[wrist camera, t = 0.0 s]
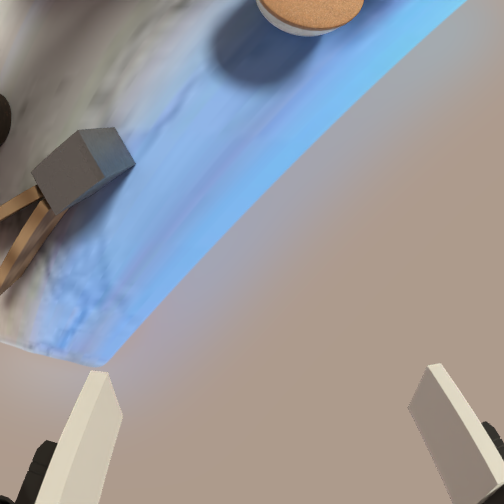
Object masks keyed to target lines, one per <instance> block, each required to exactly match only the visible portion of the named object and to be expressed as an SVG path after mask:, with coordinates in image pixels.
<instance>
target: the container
mask: <svg viewBox="0 0 504 504" xmlns="http://www.w3.org/2000/svg"><path fill="white" fill-rule="evenodd" d="M10 123H11V111H10V106H9V104H8V102H7V100H6V98H5V97H4V96H3V95H1V94H0V145H1V144H2V143H3V142H4V140H5V139H6V137H7V135H8V132H9V129H10Z"/></svg>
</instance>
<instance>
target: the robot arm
mask: <svg viewBox="0 0 504 504" xmlns="http://www.w3.org/2000/svg"><path fill="white" fill-rule="evenodd" d="M408 409H409V411H410V413H411V415H412V417H413V419H414V421H415V423H416V425H417V427H418V429H419V431H420V433H421V435H422V437H423V439H424V442H425V444H426V446H427V448H428V450H429V452H430V454H431V456H432V458H433V460H434V463H435V465H436V467H437V469H438V471H439V474H440V476H441V478H442V480H443V482H444V485H445V487H446V489H447V492H448V494H449V496H450V499H451V501H452V503H453V504H504V443H503V441H502V439H500V436H499V435H498V433H497V431H496V430H495V428H494V427H492V426H491V425H490V424H489V423H487V422H483V423H480V421H479V419H478V418H477V416H476V415H475V413H474V412H473V410H472V408H471V407H470V406H469V404H468V402H467V401H466V399H465V398H464V396H463V395H462V393H461V392H460V390H459V389H458V387H457V386H456V384H455V383H454V382H453V380H452V379H451V377H450V376H449V374H448V373H447V371H446V370H445V369H444V367H443V366H442V364H441V363H439V364H433V365H428V366H427V367H426V370H425V372H424V375H423V377H422V379H421V381H420V383H419V385H418V388H417V390H416V392H415V394H414V396H413V398H412V400H411V402H410V404H409V406H408ZM122 418H123V414H122V412H121V409H120V406H119V404H118V401H117V398H116V395H115V392H114V389H113V387H112V383H111V380H110V377H109V374H108V373H107V372H100V371H93V370H91V372H90V374H89V376H88V378H87V380H86V382H85V384H84V386H83V388H82V390H81V393H80V395H79V397H78V399H77V401H76V403H75V406H74V408H73V410H72V412H71V414H70V417H69V419H68V421H67V423H66V426H65V428H64V430H63V433H62V435H61V437H60V440H59V442H58V443H55V442H51V441H48V440H46V441H45V442H44V443H43V444H42V445H41V446H40V447H39V448H38V449H37V451H36V453H35V455H34V457H33V462H32V463H31V464H30V467H29V471H28V472H27V474H26V477H25V479H24V481H23V484H22V487H21V489H20V492H19V494H18V497H17V500H16V501H15V503H14V502H13V501H12V500H10V499H9V498H8V497H5V496H2V495H1V496H0V504H99V500H100V496H101V492H102V488H103V485H104V481H105V477H106V473H107V470H108V466H109V462H110V459H111V455H112V451H113V448H114V445H115V441H116V438H117V435H118V431H119V428H120V425H121V421H122Z"/></svg>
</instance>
